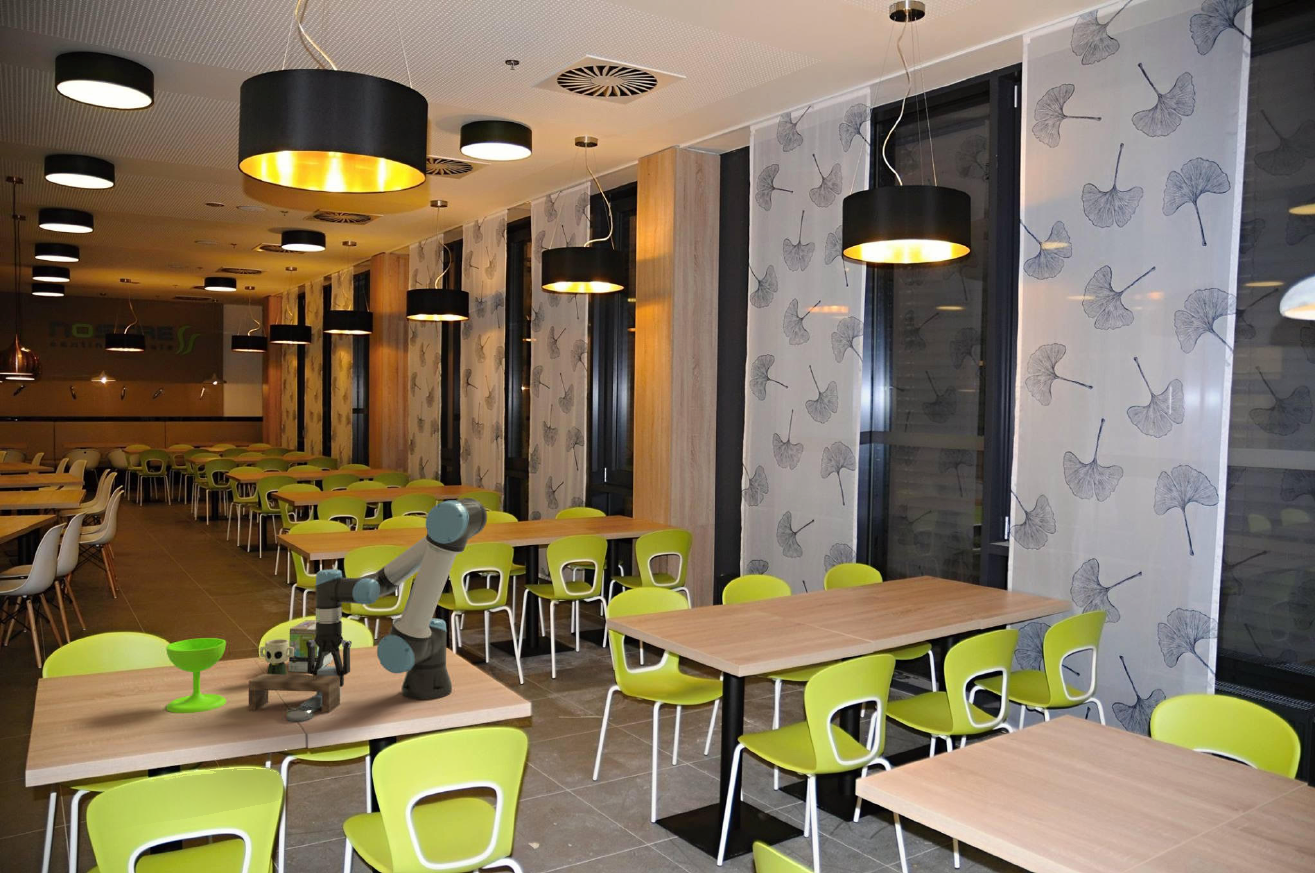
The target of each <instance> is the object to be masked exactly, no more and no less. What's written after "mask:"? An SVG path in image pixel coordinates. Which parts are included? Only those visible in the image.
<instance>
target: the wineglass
mask: <svg viewBox="0 0 1315 873" xmlns="http://www.w3.org/2000/svg"><path fill="white" fill-rule="evenodd" d="M226 644H227V641H226V640H225V639H222V638H216V637H205V638H203V637H201V638H191V639H184V640H183V639H182V640H179V641H176V642H172V643H169V644H167V646H166V647H165V649H166V654H167V657H168V659H169V660H170V662H171V663H172V664H173V665H174V666H175V667H176V668H178V669H179V670H182V671H183V672H184V671H185V672H189V673H192V693H191V695H186V696H182V697H178V698H176V699H174V700H172V701H171V702H169V703H168V704H167V706H166V710H167V711H169V712H170V713H176V714H193V713H194V714H195V713H201V712H206V711H210V710H214V709H218V708H220V707H223V706H224V705H225V704H226V703H227V699H226V698H225V697H223V696H222V695H220V694H213V693H205V694H203V693H202V692H201V672H203V671H205V670H208V669H211V668H212V667H213V666H214V665H216V664H218V662H219V661H220V660H221V658H222V657H223V655H224V653H225V650H226Z"/></svg>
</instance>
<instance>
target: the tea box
mask: <svg viewBox="0 0 1315 873" xmlns="http://www.w3.org/2000/svg"><path fill="white" fill-rule="evenodd" d="M317 622H318V621H316V619H311V620H309V619H307V620H305V621H302V622H300V623H299V624H296V625H294V626H293V627H290V628H289V640H288V641H289V647H293V648H294V656H293V657H289V658H288V672H290V673H291V672H292V673H293V672H294V673H308V672H307V665H308V649H307V646H306V642H308V641H310V640H314V639H315V637H316V623H317ZM318 651H319V647H318V646H317V644H316V643H315V665H316V661H317V657H318ZM289 654H291V650H289ZM332 662H334V659H333V656H332V654H331V652H328V651H327V652H326V653H325V656H324V660H323V664H322V667H324V666H328V665H329V664H330V663H332Z"/></svg>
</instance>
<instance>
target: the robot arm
mask: <svg viewBox="0 0 1315 873" xmlns="http://www.w3.org/2000/svg"><path fill="white" fill-rule="evenodd" d="M487 521H488V514H487V510H486V508H485V507H484V505H483V504H482V503H481V502H480V501H478V500H477V499H475V498H470V497H468V498H467V497H465V498H460V499H456V500H455V499H453V500H451V499H450V500H445V501H442V502H440V503H437V504H436V505H435V506H433V507H431V509H430V510H429V512H428V513H427V516H426V519H425V528H426V535H425V536H424V537H422V538H421V539H420V540H419V541H417V542H416V543H414V544H413V545H411V546H410V547H409V548H407V549H406V550H405V551H404V552H402V553H400V554H399V555H398V556H396V557H395V558H394V559H392V560H391V561H390V562H388V563H387V564H386V565H384V566H383V567H381V569H379V570H377V571H376V572H374V573H371V574H368V575H363V576H361V577H343V573H342V570H340V569H333V568H332V569H321V570H319V571H318V572H316V574H315V575H316V576H315V584H314V587H315V620H316V621H318V622H317V623H316V637H315V639H314V640H310V641H308V642H306V646H307V649H308V665H307V672H306V673H307V675H317V670H319V669H320V668H322V664H323V660H324V656H325V653H326V652H327V651H328V652H331V654H332V656H333V663H334V666H335V667H336V671H337V676H340V697H341V696H342V687H343V686H344V684H345V676H346V675H348V674H350V673H351V647H352V646H351V645H352V641H351V640H346V639H344V637H343V636H342V633H343V632H342V631H343V627H342V626H343V622H342V617H343V614H342V613H343V612H342V610H343V608H342V606H343V605H342V604H343V603H344V604H347V603H348V604H358V605H371V604H374V603H376V601H377V600H378V599H379V598H380V597H384V596H388V595H390V594H393V592H395V591H397V589H398V588H399V586H400V585H402V584H403V583H404V582H405V581H407V580H408V579H409V578H411V577H412V576H413V575H415V574H416V573H417V574H416V577H415V579H414V582H413V584H412V587H411V589H410V590H411V591H410V592H409V595H408V598H407V600H406V602H405V604H404V605H405V606H404V608H403V611H402V613H401V615H400V617H398V618H395V619H394V620H393V622H392V625H391V627H390V631H389V633H388V634H387V635H385V636H384V637H383V638H382V639H380V641H379V643H378V645H377V647H376V649H377V650H376V654H377V658H378V660H379V662H380V665H381V666H382V667H383V669H385V670H387V671H388V672H390V673H392V674H402V673H405V672H406V673H405V676H404V680H403V683H402V686H401V696H402V697H404V698H406V699H407V698H408V699H410V700H411V699H412V700H413V699H414V700H431V699H437V698H443V697H445V696H448V695H450V694H451V693H453V692H452V691H453V689H452V687H453V686H452V681H451V679H450V678H451V677H450V675H449V672H448V669H447V633H448V630H447V623H446V621H445V620H444V619H440V618H433V616H434V614H435V612H436V608H437V605H438V603H439V601H440V599H441V596H442V592H443V590H444V587H445V585H446V583H447V580H448V577H449V575H450V572H451V569H452V567H453V565H454V562H455V560H456V556H457V555H459V554H461V553H463V552H464V551H465V549H466V546H467V543H468V541H469V540H470V539H472V538H473V537H475V536H477V535H478V534H479V533H481V532H482V531H483V530H484V529H485V527H486V524H487ZM315 643H316V644H317V646H318V647H319V651H318V657H317V661H316V665H315ZM341 646H342V649H343V650H342V657H341V654H340V647H341Z"/></svg>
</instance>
